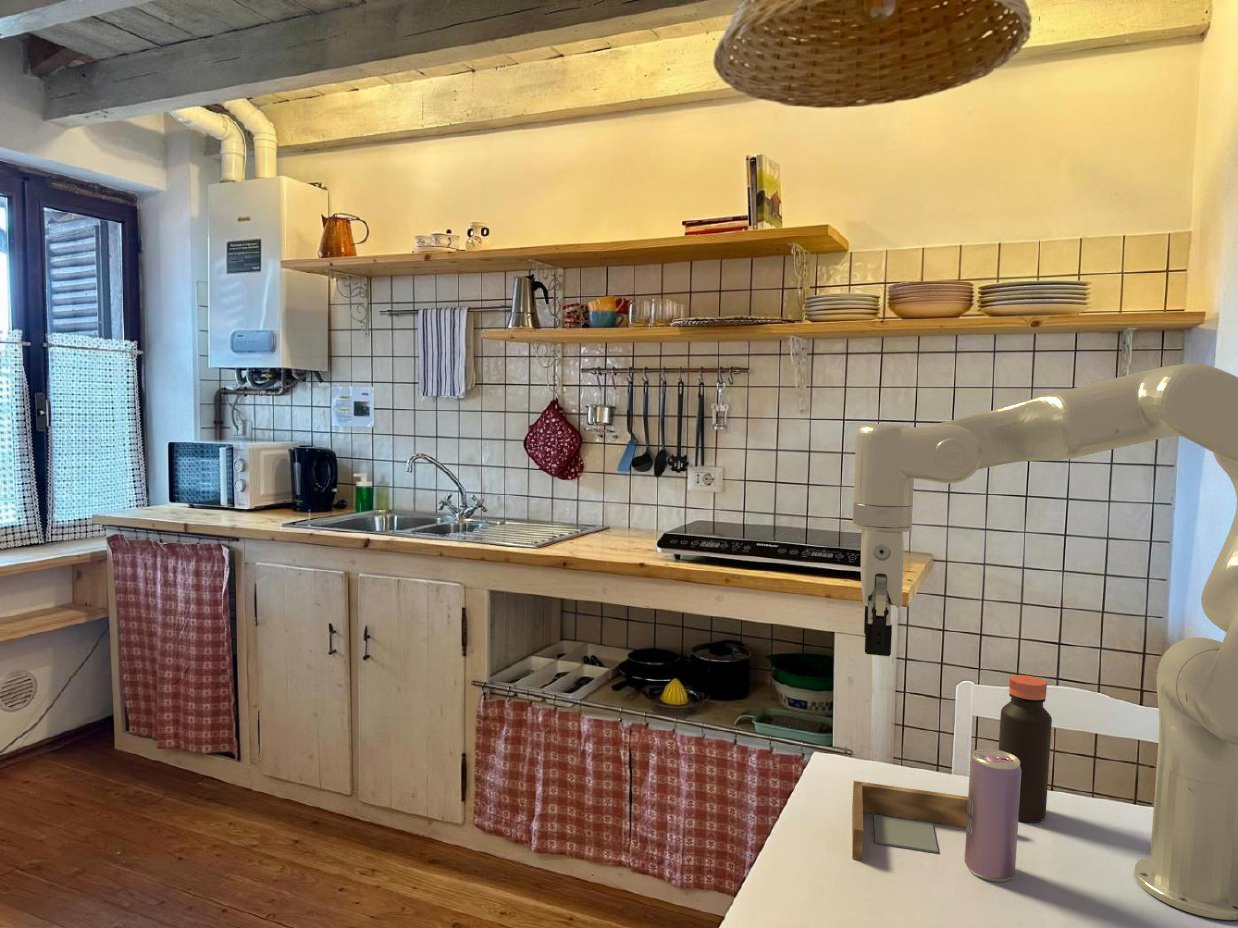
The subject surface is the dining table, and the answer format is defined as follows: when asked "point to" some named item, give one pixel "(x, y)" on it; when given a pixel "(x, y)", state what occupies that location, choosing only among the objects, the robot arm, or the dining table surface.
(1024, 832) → the dining table surface
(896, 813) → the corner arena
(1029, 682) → the bottle
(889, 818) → the pad
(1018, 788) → the beverage can
